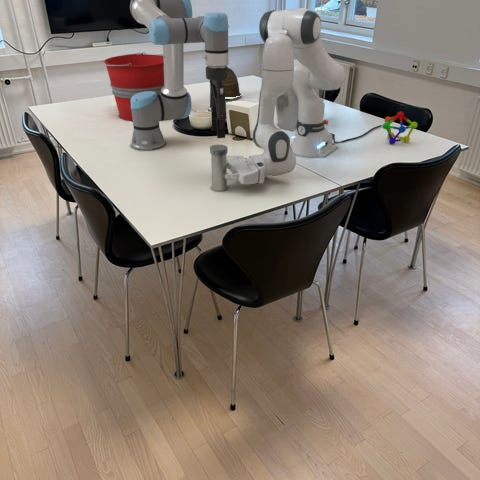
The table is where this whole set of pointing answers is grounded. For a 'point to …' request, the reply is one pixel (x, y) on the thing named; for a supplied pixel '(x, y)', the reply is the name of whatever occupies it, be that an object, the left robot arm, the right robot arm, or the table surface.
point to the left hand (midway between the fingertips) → (218, 133)
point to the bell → (231, 85)
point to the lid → (218, 150)
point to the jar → (219, 172)
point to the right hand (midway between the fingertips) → (220, 171)
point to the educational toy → (398, 128)
